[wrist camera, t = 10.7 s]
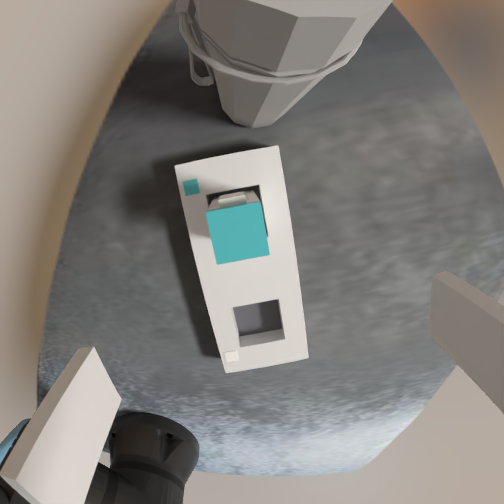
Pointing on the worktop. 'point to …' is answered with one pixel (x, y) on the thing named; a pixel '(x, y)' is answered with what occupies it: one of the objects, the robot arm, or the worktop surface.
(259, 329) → the panel
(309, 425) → the worktop surface
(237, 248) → the plug
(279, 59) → the water bottle
